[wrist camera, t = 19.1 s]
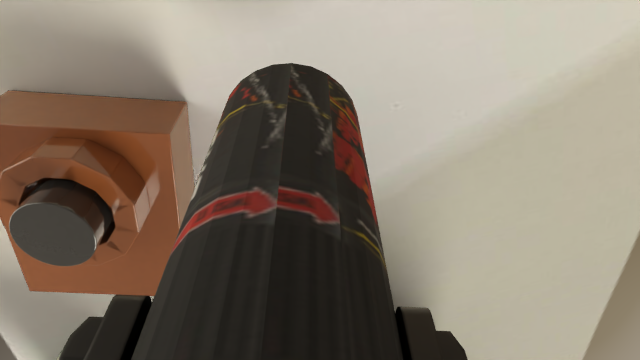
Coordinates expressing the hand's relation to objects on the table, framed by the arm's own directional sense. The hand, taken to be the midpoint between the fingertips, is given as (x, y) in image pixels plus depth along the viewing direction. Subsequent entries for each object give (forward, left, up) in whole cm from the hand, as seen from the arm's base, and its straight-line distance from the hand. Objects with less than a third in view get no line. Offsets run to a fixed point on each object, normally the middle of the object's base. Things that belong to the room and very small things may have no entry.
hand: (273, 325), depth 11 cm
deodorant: (0, 0, -11) cm, 11 cm away
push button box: (+8, -11, -17) cm, 22 cm away
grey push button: (+6, -11, -12) cm, 17 cm away
